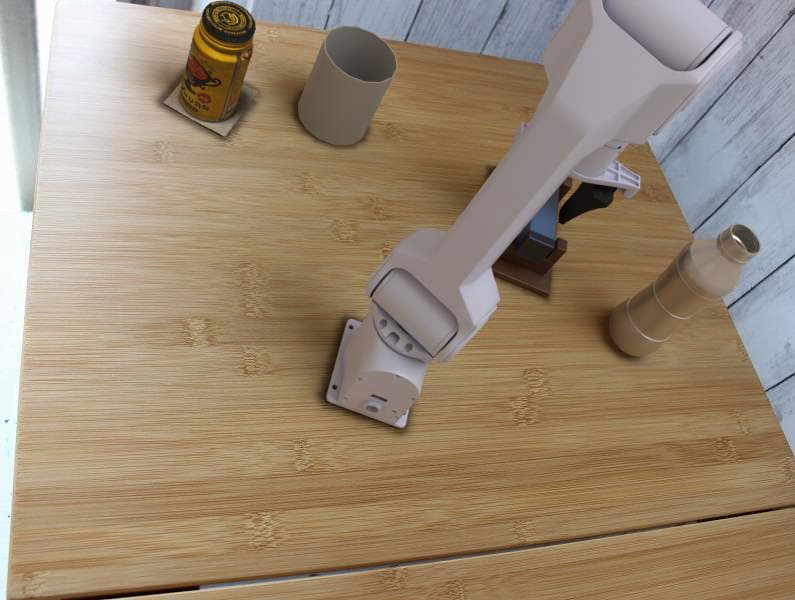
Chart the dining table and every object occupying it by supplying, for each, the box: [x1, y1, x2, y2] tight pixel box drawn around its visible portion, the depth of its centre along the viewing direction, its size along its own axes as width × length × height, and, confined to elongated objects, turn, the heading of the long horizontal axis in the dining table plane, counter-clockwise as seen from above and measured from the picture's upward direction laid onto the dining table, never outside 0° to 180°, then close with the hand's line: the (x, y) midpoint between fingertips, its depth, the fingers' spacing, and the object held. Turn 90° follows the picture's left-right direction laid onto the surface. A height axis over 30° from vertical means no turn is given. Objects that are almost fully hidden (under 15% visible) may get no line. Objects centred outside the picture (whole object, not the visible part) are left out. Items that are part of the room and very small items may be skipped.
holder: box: [491, 165, 573, 298], centre depth 96 cm, size 16×9×6 cm, turn 169°
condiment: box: [162, 0, 259, 138], centre depth 87 cm, size 7×8×12 cm
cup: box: [297, 25, 399, 146], centre depth 93 cm, size 8×8×10 cm
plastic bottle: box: [608, 222, 762, 358], centre depth 88 cm, size 6×7×20 cm
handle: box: [515, 187, 559, 263], centre depth 95 cm, size 14×3×3 cm, turn 169°
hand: (538, 207), depth 95 cm, fingers open, 5 cm apart
